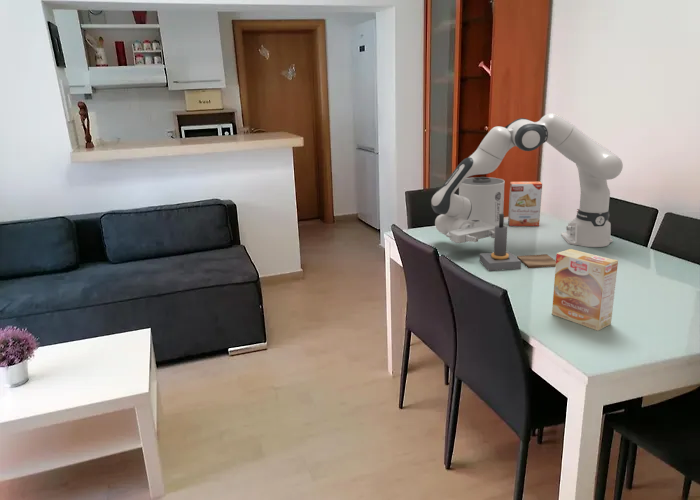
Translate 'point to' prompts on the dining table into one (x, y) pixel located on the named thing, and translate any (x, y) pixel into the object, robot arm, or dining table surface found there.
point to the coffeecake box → (584, 288)
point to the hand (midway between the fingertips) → (486, 237)
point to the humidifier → (484, 198)
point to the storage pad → (537, 261)
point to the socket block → (500, 262)
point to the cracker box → (524, 203)
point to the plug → (500, 241)
